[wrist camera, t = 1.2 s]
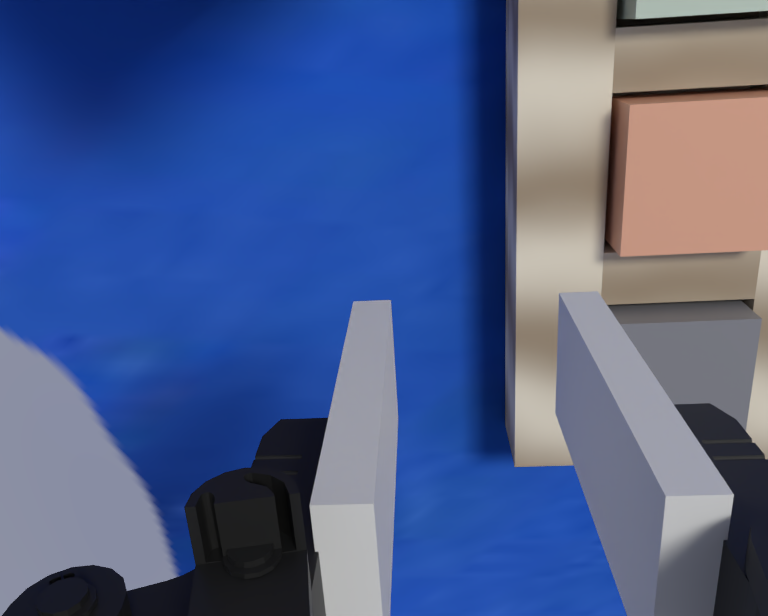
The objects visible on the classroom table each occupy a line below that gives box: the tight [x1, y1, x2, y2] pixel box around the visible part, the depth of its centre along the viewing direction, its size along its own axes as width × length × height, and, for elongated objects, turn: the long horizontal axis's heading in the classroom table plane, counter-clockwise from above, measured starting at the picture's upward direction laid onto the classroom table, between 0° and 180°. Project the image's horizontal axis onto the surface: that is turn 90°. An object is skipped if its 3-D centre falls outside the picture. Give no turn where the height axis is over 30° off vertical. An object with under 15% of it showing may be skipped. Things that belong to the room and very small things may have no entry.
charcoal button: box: [607, 299, 762, 431], centre depth 33 cm, size 6×6×3 cm
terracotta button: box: [604, 88, 768, 257], centre depth 30 cm, size 6×6×3 cm
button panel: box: [505, 0, 768, 467], centre depth 31 cm, size 28×14×4 cm, turn 3°
